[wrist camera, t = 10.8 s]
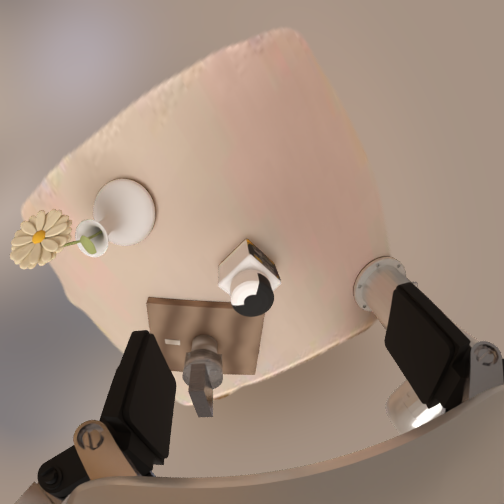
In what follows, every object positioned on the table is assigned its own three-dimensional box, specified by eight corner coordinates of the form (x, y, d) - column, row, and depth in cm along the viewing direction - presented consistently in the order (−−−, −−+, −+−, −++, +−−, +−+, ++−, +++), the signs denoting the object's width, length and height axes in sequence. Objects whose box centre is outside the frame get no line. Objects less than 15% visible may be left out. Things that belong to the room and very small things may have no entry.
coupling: (180, 348, 45) (173, 391, 36) (219, 346, 46) (219, 390, 36) (191, 382, 49) (188, 422, 40) (226, 380, 49) (227, 421, 40)
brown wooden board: (263, 303, 52) (268, 326, 45) (254, 368, 58) (257, 391, 52) (148, 297, 49) (139, 318, 43) (157, 362, 56) (152, 385, 49)
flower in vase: (168, 194, 42) (107, 258, 19) (143, 252, 46) (85, 348, 23) (103, 162, 39) (0, 194, 16) (83, 221, 42) (-5, 290, 19)
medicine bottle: (275, 263, 49) (289, 300, 38) (246, 289, 50) (252, 330, 39) (246, 237, 46) (253, 269, 35) (217, 265, 48) (215, 303, 37)
